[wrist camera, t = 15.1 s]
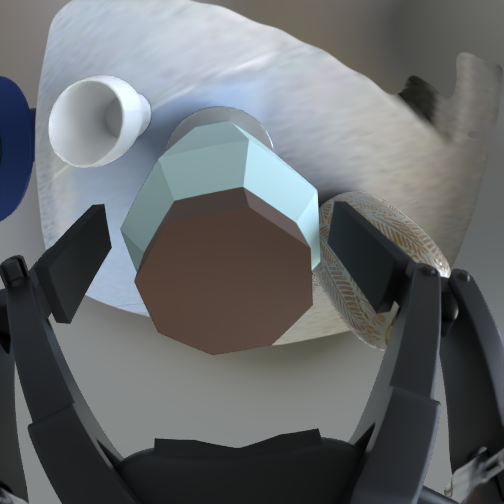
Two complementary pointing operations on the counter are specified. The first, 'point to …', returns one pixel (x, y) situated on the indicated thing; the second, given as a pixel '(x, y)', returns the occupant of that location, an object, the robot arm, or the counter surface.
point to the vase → (340, 281)
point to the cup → (97, 121)
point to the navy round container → (221, 115)
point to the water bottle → (223, 241)
